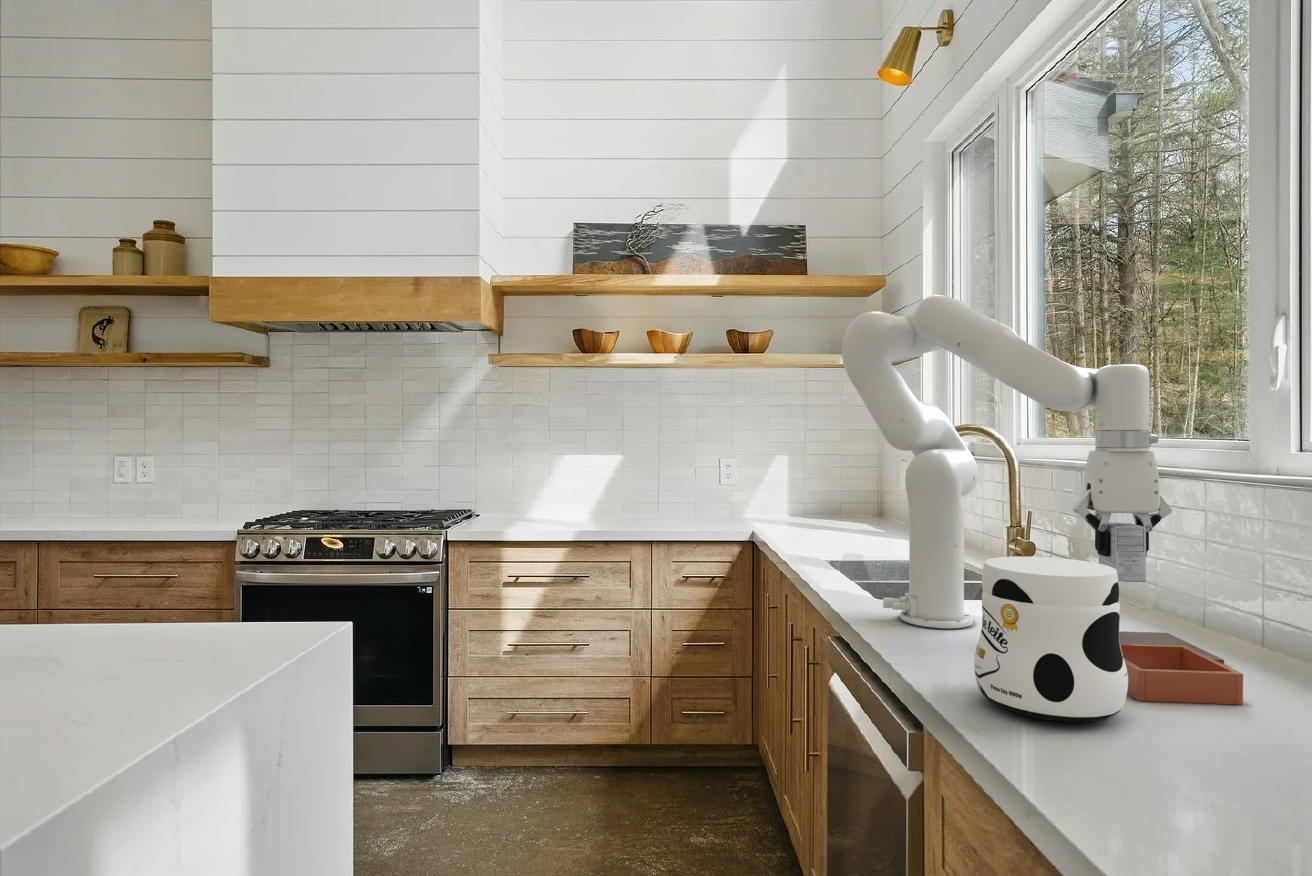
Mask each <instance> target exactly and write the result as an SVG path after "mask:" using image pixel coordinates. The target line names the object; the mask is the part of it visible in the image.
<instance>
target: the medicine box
mask: <svg viewBox="0 0 1312 876" xmlns="http://www.w3.org/2000/svg"><path fill="white" fill-rule="evenodd" d="M1107 531H1108V532H1110V534H1111V555H1110V556H1109V557H1105V556H1102V555H1099V554H1098V564H1102V565H1107V566H1110V567H1112V568H1114V569H1116V570H1117V575H1118V582H1125V583H1126V582H1127V583H1146V582H1147V557H1146V529H1145V527H1142V526H1139V525H1136V524H1135V523H1131V522H1128V521H1109V523H1108V526H1107Z"/></svg>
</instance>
